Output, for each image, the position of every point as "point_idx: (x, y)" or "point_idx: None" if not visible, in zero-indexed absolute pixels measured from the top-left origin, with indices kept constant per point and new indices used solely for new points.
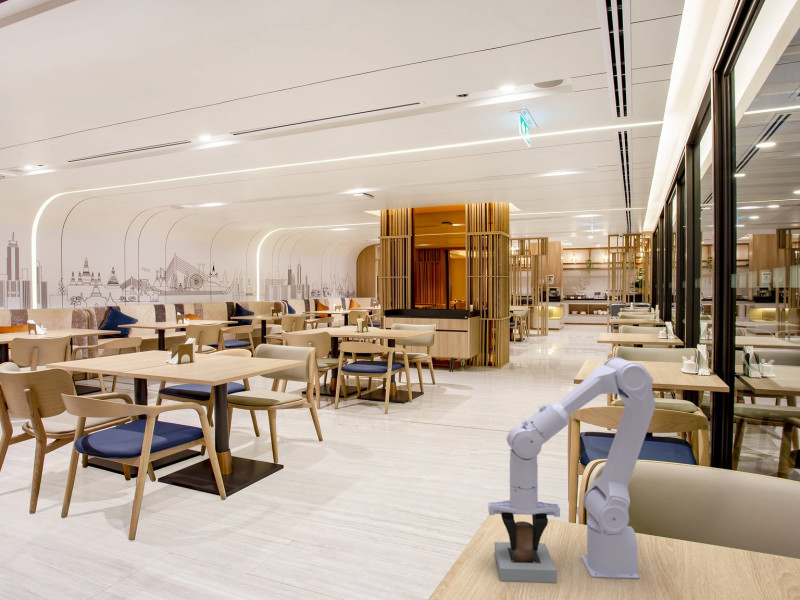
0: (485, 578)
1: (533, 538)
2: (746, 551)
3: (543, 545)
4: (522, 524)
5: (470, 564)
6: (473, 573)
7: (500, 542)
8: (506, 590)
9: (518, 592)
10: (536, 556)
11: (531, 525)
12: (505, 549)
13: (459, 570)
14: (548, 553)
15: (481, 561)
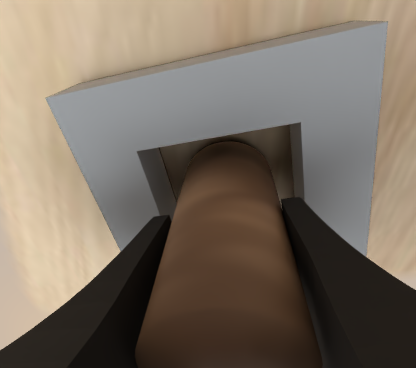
0: (107, 255)
1: (297, 259)
2: None
3: (364, 61)
4: (214, 354)
5: (25, 191)
6: (61, 238)
7: (79, 95)
8: None
9: None
10: (294, 132)
11: (305, 360)
12: (129, 170)
13: (12, 231)
14: (369, 159)
15: (52, 161)
